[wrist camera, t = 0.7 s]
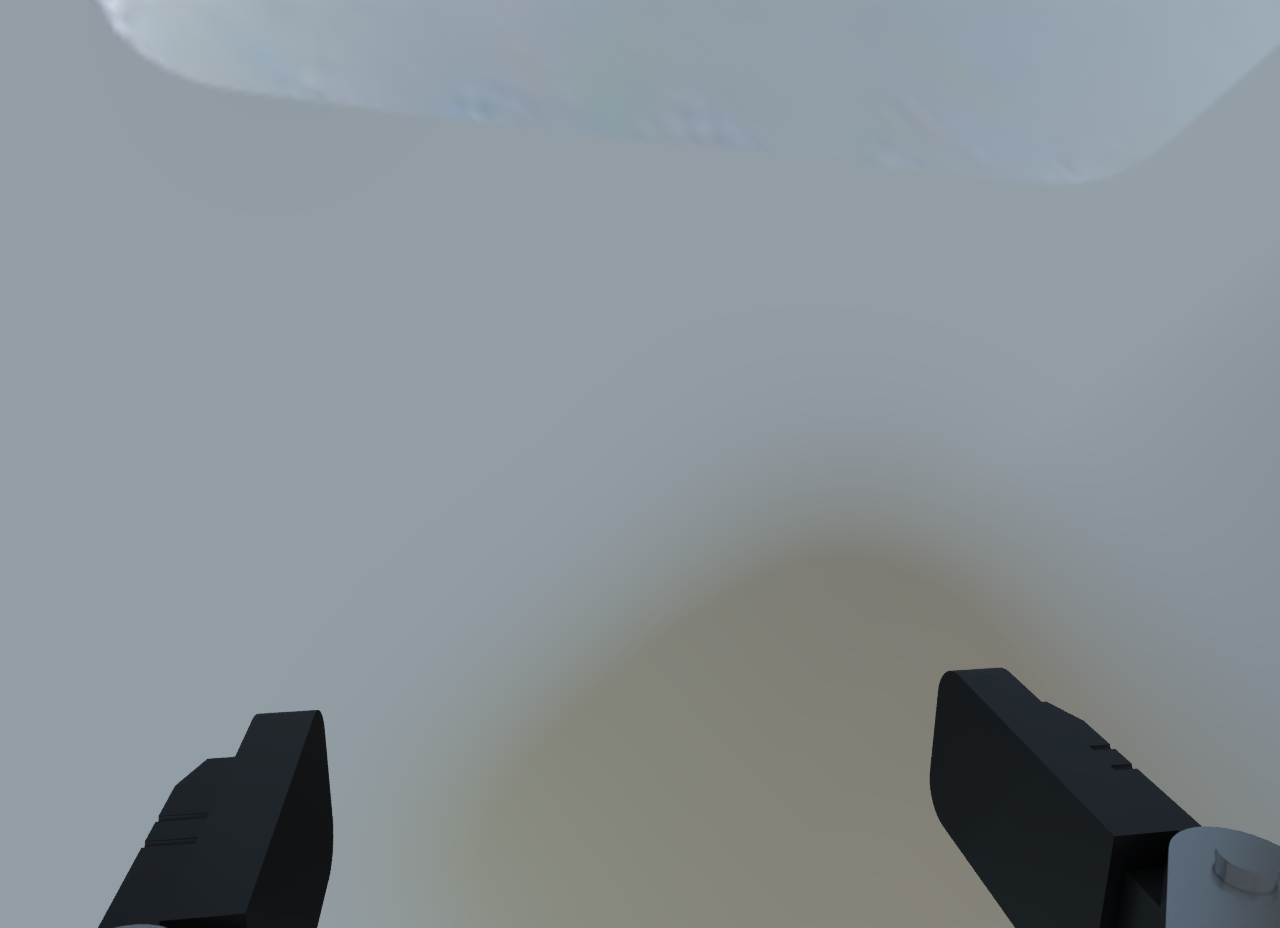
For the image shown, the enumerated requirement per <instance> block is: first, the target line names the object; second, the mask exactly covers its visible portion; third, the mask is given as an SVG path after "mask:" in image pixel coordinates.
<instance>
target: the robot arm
mask: <svg viewBox="0 0 1280 928" xmlns="http://www.w3.org/2000/svg"><path fill="white" fill-rule="evenodd" d="M930 790H931V796H932V800H933V804H934V808H935V811H936V813H937V816H938V818H939V820H940V822H941V824H942V825H943V827H944V828H945V829H946V831H947V832H948V834H949V835H950V837H951V838H952V839H953V841H954V842H955V844H956V845H957V846H958V848H959V849H960V851H961V852H962V853H963V855H964V856H965V858H966V859H967V861H968V862H969V863H970V865H971V866H972V867H973V869H974V870H975V872H976V873H977V874H978V876H979V877H980V879H981V880H982V882H983V883H984V885H985V886H986V887H987V889H988V890H989V891H990V893H991V894H992V896H993V897H994V899H995V900H996V901H997V903H998V904H999V906H1000V907H1001V908H1002V910H1003V911H1004V913H1005V914H1006V916H1007V917H1008V918H1009V920H1010V921H1011V923H1012V924H1013V925H1014V927H1015V928H1280V846H1278V845H1276V844H1274V843H1272V842H1270V841H1268V840H1265V839H1263V838H1260V837H1257V836H1254V835H1252V834H1248V833H1245V832H1242V831H1237V830H1233V829H1227V828H1221V827H1202V826H1201V825H1199V824H1198V823H1197V822H1196V821H1195V820H1194V819H1193V818H1192V817H1191V816H1190V815H1188V814H1187V813H1186V812H1185V811H1184V810H1183V809H1182V808H1181V807H1179V806H1178V805H1177V804H1176V803H1175V802H1174V801H1173V800H1171V799H1170V798H1169V797H1168V796H1167V795H1166V794H1165V793H1164V792H1163V791H1162V790H1160V789H1159V788H1158V787H1157V786H1156V785H1155V784H1154V783H1153V782H1151V781H1150V780H1149V779H1148V778H1147V777H1146V776H1145V775H1144V774H1143V773H1141V772H1140V771H1139V770H1138V769H1133V768H1132V764H1131V763H1130V762H1129V761H1128V760H1127V759H1126V758H1125V757H1124V756H1122V755H1121V754H1120V753H1119V752H1118V751H1117V750H1116V749H1111V748H1110V744H1109V743H1108V742H1107V741H1106V740H1105V739H1103V738H1102V737H1101V736H1100V735H1099V734H1098V733H1097V732H1096V731H1094V730H1093V729H1092V728H1091V727H1090V726H1089V725H1088V724H1087V723H1085V722H1084V721H1083V720H1081V719H1079V718H1077V717H1075V716H1073V715H1071V714H1069V713H1067V712H1065V711H1064V710H1062V709H1060V708H1058V707H1056V706H1054V705H1052V704H1050V703H1048V702H1041V701H1040V700H1039V699H1038V698H1037V697H1036V696H1035V695H1034V694H1033V693H1031V692H1030V691H1029V690H1028V689H1027V688H1026V687H1025V686H1024V685H1023V684H1022V683H1021V682H1019V680H1017V679H1016V678H1015V677H1014V676H1013V675H1012V674H1011V673H1010V672H1009V671H1007V670H1006V669H1003V668H988V669H972V670H956V671H948V672H946V673H945V674H944V675H943V676H942V679H941V681H940V684H939V689H938V698H937V707H936V717H935V728H934V738H933V748H932V757H931V767H930ZM332 854H333V816H332V806H331V794H330V784H329V772H328V761H327V749H326V738H325V728H324V721H323V717H322V714H321V712H320V711H319V710H311V711H297V712H279V713H264V714H256V715H255V716H254V718H253V720H252V722H251V724H250V726H249V728H248V730H247V733H246V735H245V737H244V739H243V741H242V743H241V745H240V748H239V750H238V752H237V754H236V756H235V757H228V758H213V759H207V760H206V761H205V762H203V763H202V764H201V765H200V766H198V767H197V768H196V769H195V770H194V771H193V772H191V773H190V774H189V775H188V776H187V777H185V778H184V779H183V780H182V781H180V782H179V783H178V784H177V785H176V786H175V787H174V789H173V791H172V793H171V794H170V796H169V798H168V800H167V802H166V804H165V805H164V808H163V809H162V811H161V813H160V815H159V821H158V822H155V824H154V826H153V828H152V830H151V831H150V833H149V835H148V837H147V839H146V840H145V847H144V848H141V850H140V852H139V853H138V855H137V857H136V859H135V861H134V863H133V864H132V866H131V868H130V870H129V872H128V874H127V875H126V877H125V879H124V881H123V883H122V885H121V887H120V889H119V890H118V892H117V894H116V896H115V898H114V899H113V902H112V903H111V905H110V907H109V909H108V910H107V912H106V914H105V916H104V918H103V920H102V922H101V923H100V925H99V927H98V928H317V926H318V922H319V917H320V913H321V909H322V905H323V901H324V897H325V892H326V889H327V884H328V880H329V876H330V871H331V863H332Z"/></svg>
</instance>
